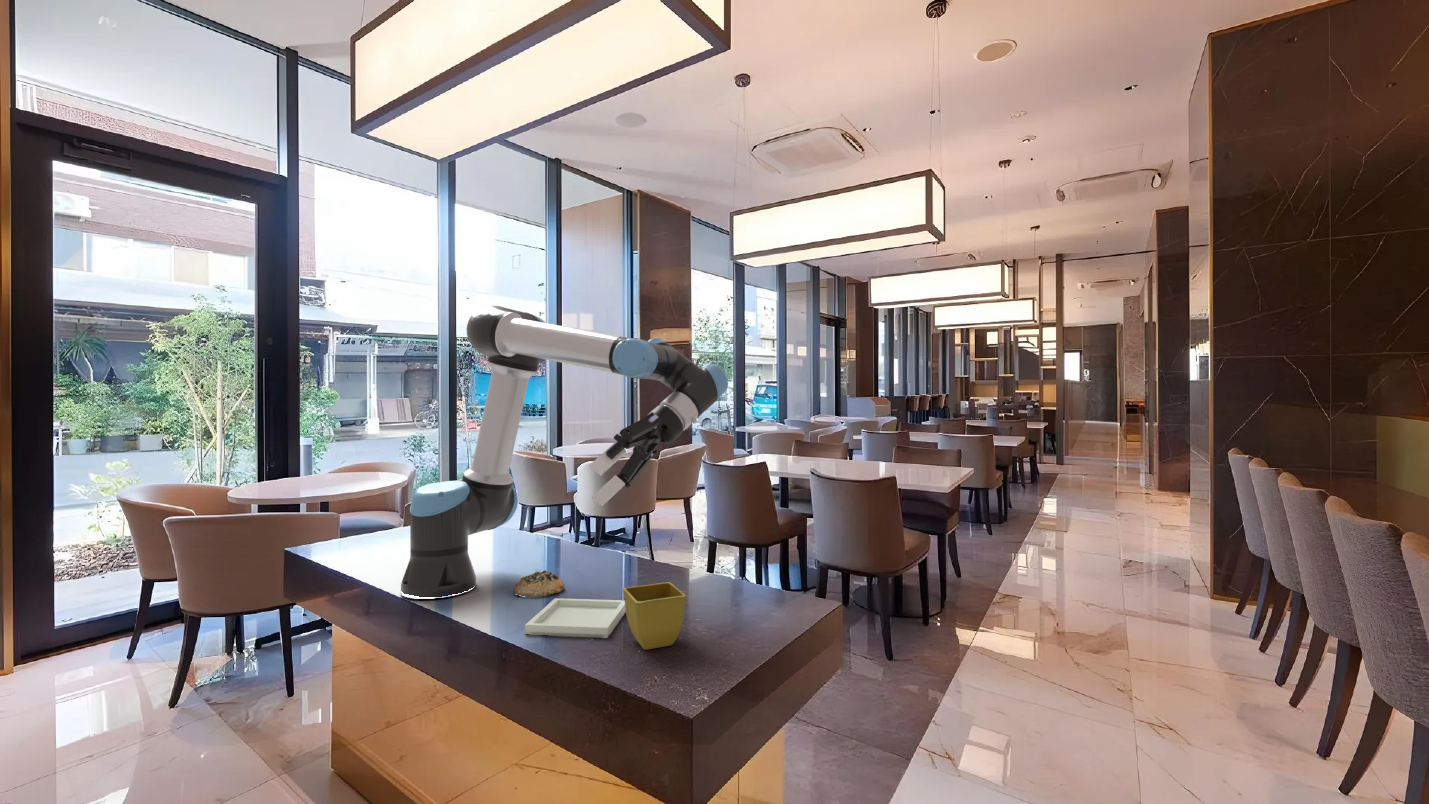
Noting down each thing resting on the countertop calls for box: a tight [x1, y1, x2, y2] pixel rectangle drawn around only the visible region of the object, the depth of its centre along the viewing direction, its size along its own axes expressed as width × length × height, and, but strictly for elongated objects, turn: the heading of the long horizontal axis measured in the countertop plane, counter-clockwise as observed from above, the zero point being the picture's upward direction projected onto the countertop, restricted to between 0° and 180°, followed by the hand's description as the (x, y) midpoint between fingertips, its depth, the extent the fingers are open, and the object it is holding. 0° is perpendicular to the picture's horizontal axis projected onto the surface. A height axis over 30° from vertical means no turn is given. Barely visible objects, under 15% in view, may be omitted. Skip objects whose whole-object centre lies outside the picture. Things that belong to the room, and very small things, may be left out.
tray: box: [524, 597, 626, 639], centre depth 113 cm, size 15×15×2 cm
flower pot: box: [622, 581, 687, 650], centre depth 102 cm, size 9×9×9 cm
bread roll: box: [513, 569, 566, 598], centre depth 132 cm, size 11×11×5 cm
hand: (595, 486), depth 112 cm, fingers open, 13 cm apart
